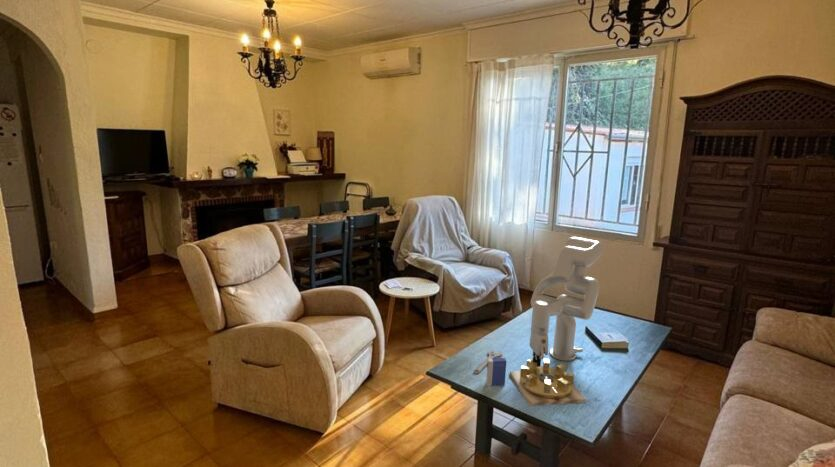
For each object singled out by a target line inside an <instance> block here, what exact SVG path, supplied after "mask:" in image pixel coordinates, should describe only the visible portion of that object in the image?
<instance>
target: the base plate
mask: <svg viewBox="0 0 835 467" xmlns="http://www.w3.org/2000/svg"><path fill="white" fill-rule="evenodd" d="M520 372H521V370H515V371H514V370H509V376H510V378H511V379H512V380H513V383H515V385H516V387H517V388H518V390H519V392H520V393H521V395H522V396H523V399H525V401H526V402H527V404H528V405H529V407H533V406H534V407H535V406H549V405H563V404H565V405H566V404H577V403H578V404H581V403H586V397H585V396H584V395H583V394H582V393H581V392H580V391H579V390H578V388H577V387H576V386H575V385H574V384H573V390H572V393H571V394H570V395H569V396H567V397H565V398H561V399H548V398H542V397H539V396H536V395H534V394H531V393H530V392H528V391H527V390H525V389H524V388H523V387H522V385H521V384H520Z"/></svg>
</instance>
